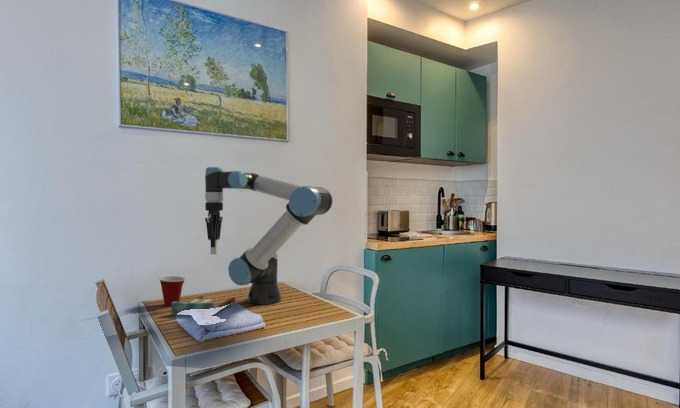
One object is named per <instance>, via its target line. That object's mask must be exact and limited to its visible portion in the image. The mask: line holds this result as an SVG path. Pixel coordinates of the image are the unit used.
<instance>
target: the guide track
mask: <svg viewBox="0 0 680 408" xmlns="http://www.w3.org/2000/svg"><path fill="white" fill-rule="evenodd" d="M195 299H204V295H199V296H197V297H195V298H194V299H192V300H189V301H179V302H172V306H171V316H177V313H179V312H181V311H184V310H190V309H210V308H216V307H222V306H225V305H228V304H231V303H233V304H234V303H236V297H234V296H232V297H230V298H229V299H227V300H225V301H224V302H222V303H220V304H218V305H217V306H216V307H215V303H214V302H212V303H195V302H191V301H193V300H195ZM231 305H232V304H231Z"/></svg>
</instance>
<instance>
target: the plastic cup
mask: <svg viewBox="0 0 680 408" xmlns="http://www.w3.org/2000/svg"><path fill="white" fill-rule="evenodd" d="M158 279H159V281H160V286H161V292H162V297H163V303H164V306H166V307H172V302H181V301H180V300H181V295H182V290H183V286H184V283H185V280H186V277H183V276H175V275H174V276H173V275H172V276H171V275H169V276H167V275H166V276H161V277H159V278H158Z"/></svg>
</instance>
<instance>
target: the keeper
mask: <svg viewBox="0 0 680 408" xmlns="http://www.w3.org/2000/svg"><path fill="white" fill-rule="evenodd" d="M194 299H195V298H194ZM192 300H193V299H192ZM190 301H191V300H190ZM212 301H213V300H212V299H211V298H210V299H205V298H203V299H195V300H193V301H191V302H195V303H213V302H212Z"/></svg>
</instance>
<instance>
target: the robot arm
mask: <svg viewBox="0 0 680 408" xmlns="http://www.w3.org/2000/svg"><path fill="white" fill-rule="evenodd" d="M204 180H205V181H204V182H205V183H204V184H205V190H204V191H205V194H204V197H205V198H204V200H205V206H204V208H205V211H207V212H208V213H207V217H205V218H204V220H205V224H206V232H207V240H208V241H210V255H215V256H216V255H218V252H219V251H218V250H219V249H218V248H219V244H218V242H219V240H221V230H222V223H223V218H224V217H223V216H221V212H222V211H223V210H224V203H223V201H224V189H230V190H231V189H232V190H233V189H235V190H237V189H238V190H239V189H240V190H250V191H254V192H257V193H261V194H265V195H269V196H272V197H275V198H279V199H283V200H286V201H288V202H287V203H286V205H285V212H284V213H283V214H282V215H281V216H280V217H279V218H278V219H277V221H276V222H275V223H273V225H272V226H271V227H270V228H269V229H268V231H266V233H265V234H264V235H263V236H262V237H261V238H260V239H259V241H258V242H257V243H256V244H255V245H254V246H253V247H249V248H246V250H245V251H244V252H243V253H242V254H241V255H240V256H239V257H235V258H234V259H232V260H231V261H230V263H228V266H227V267H228V268H227V271H228V277H229V278H230V280H231V282H232V283H233V284H235V285H236V286H247V285H249V284H251V286H250V289H249V292H248V295H247V302H248V303H250V304H253V305H273V304H277V303H279V302H280V301H282V293H281V292H280V288H279V285H278V260H279V259H278V251H279V250H280V249H281V248H282V247H283V246H284V245H285V243H286V242H287V241H288V240H290V239H291V237H292V236H293V235H294V234H295V233H296V232H297V231H298V230H299V229H300V227H301V226H302V225H303V226H304V225H305V226H307V225H308V224H309V223H310V222H311V221H312V220H313V219H314V218H315V217H316V216H319V215H322V216H323V215H324V214H327V213H328V212H329V211H330V210H331V208H332V206H333V196H332V194H331V192H330V191H329V190H328V189H326V188H324V187H319V186H316V187H315V186H311V185H305V186H301V185H298V184H293V183H291V182H290V183H289V182H286V181H283V180H279V179H274V178H271V177H267V176H262V175H260V174H258V173H255V172H254V173H253V172H244V171H239V170H233V171H224V169H223V167H218V166H208V167H206V168H205V175H204Z"/></svg>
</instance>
